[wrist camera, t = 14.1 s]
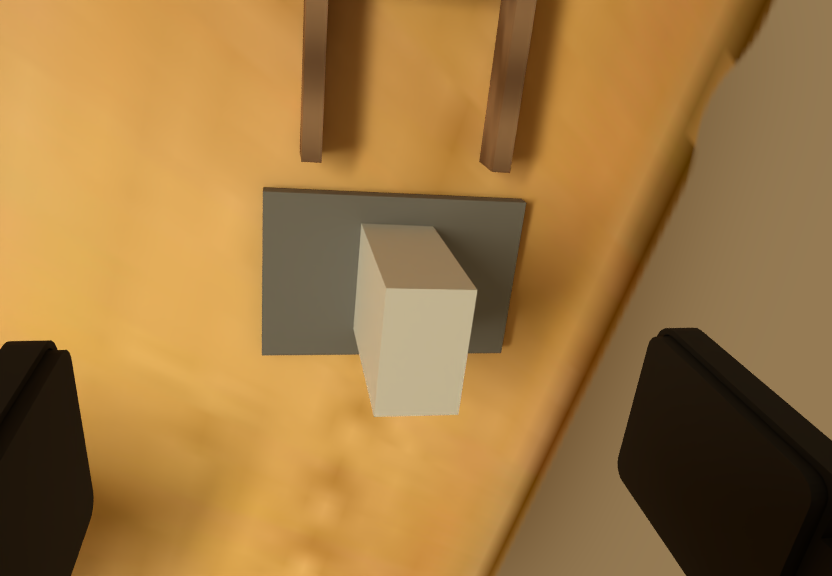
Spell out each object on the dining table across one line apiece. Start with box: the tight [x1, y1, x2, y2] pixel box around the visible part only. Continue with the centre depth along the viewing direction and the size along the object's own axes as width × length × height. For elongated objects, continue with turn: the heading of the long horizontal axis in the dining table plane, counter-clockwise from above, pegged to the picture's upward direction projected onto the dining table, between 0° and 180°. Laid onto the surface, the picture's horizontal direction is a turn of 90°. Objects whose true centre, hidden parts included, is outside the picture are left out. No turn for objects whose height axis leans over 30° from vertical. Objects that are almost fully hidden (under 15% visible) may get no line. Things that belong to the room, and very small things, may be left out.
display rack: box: [300, 0, 537, 173], centre depth 40 cm, size 12×13×3 cm
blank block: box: [353, 223, 477, 417], centre depth 41 cm, size 8×5×11 cm, turn 174°
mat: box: [262, 187, 526, 355], centre depth 47 cm, size 12×18×1 cm, turn 84°
